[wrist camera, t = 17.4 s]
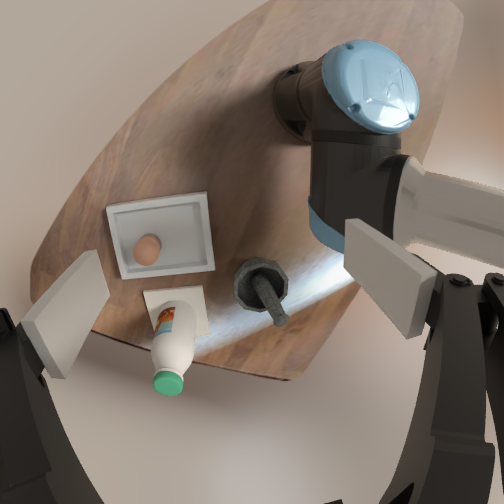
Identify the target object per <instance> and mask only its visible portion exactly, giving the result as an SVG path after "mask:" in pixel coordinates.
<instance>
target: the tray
mask: <svg viewBox="0 0 504 504" xmlns="http://www.w3.org/2000/svg"><path fill="white" fill-rule="evenodd" d="M106 211H107V216H108V221H109V226H110V231H111V236H112V240H113V245H114V249H115V253H116V257H117V261H118V265H119V269H120V273H121V277H122V280H123V279H133V278H144V277H154V276H164V275H174V274H184V273H194V272H204V271H213V270H215V261H214V253H213V244H212V236H211V227H210V218H209V209H208V199H207V191H203V192H194V193H186V194H178V195H170V196H162V197H155V198H148V199H141V200H135V201H128V202H122V203H116V204H110V205H109V206H107V207H106ZM145 234H154V235H156V236H157V237H158V238H159V239H160V241H161V244H162V247H161V251H160V253H159V256H158V259H157V261H156V262H155V263H154V264H153V265H150V266H142V265H140V264H139V263H137V262H136V260H135V259H134V256H133V250H134V247H135V246H136V244H137V243H138V241H139V240H140V238H141V237H142V236H143V235H145Z"/></svg>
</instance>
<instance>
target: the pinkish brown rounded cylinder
mask: <svg viewBox="0 0 504 504" xmlns="http://www.w3.org/2000/svg"><path fill="white" fill-rule="evenodd" d="M161 247H162V244H161V241H160V239H159V238H158V237H157V236H156V235H154V234H145V235H143V236H142V237H141V238H140V240H139V241H138V243H137V244H136V246H135V247H134V250H133V256H134V259H135V260H136V262H137V263H139V264H140V265H142V266H150V265H153V264H154V263H155V262H156V261H157V259H158V256H159V253H160V251H161Z"/></svg>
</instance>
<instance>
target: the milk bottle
mask: <svg viewBox="0 0 504 504" xmlns="http://www.w3.org/2000/svg"><path fill="white" fill-rule="evenodd" d="M195 335H196V313H195V311H194V309H193V308H192V307H191V306H190V305H189V304H187V303H186V302H183V301H178V300H174V301H170V302H168V303H166V304H164V305H163V306H162V308H161V309H160V312H159V316H158V319H157V323H156V327H155V331H154V335H153V340H152V345H151V356H152V360H153V362H154V365H155V368H156V372H155V374H154V379H153V387H154V389H155V390H156V391H157V392H158V393H160V394H162V395H166V396H175V395H178V394H179V393H181V391H182V388H183V377H182V376H183V374H184V372H185V371H186V370H187V369H188V367H189V366H190V364H191V362H192V360H193V356H194V349H195Z"/></svg>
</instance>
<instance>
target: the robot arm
mask: <svg viewBox="0 0 504 504" xmlns="http://www.w3.org/2000/svg"><path fill="white" fill-rule="evenodd" d="M273 106H274V110H275V113H276V116H277V118H278V120H279V121H280V123H281V124H282V126H283V127H284V128H285V129H286V130H287V131H288V132H289V133H291V134H292V135H294V136H295V137H297V138H299V139H301V140H304V141H308V142H311V170H310V196H309V197H308V206H309V225H310V229H311V230H312V232H313V235H314V236H315V237H316V238H317V239H318V240H319V241H320V242H321V243H323V244H324V245H325V246H327V247H329V248H331V249H333V250H335V251H337V252H340V253H342V254H344V268H345V269H346V270H347V272H348V273H349V274H350V275H351V276H352V277H353V278H354V279H355V280H356V281H357V283H358V284H359V285H360V286H361V287H362V288H363V289H364V290H365V292H366V293H367V294H368V295H369V296H370V297H371V298H372V299H373V301H374V302H375V303H376V304H377V305H378V306H379V307H380V309H381V310H382V311H383V312H384V313H385V314H386V316H387V317H388V318H389V319H390V320H391V321H392V323H393V324H394V325H395V326H396V327H397V329H398V330H399V331H400V332H401V333H402V335H403V336H404V337H405V338H406V339H410V338H413V337H416V336H419V335H421V334H422V331H423V328H424V324H425V322H426V323H427V324H428V325H429V326H430V327H431V328H430V331H429V334H428V337H427V340H426V343H425V346H424V350H426V355H425V361H424V368H423V373H422V378H421V383H420V388H419V393H418V397H417V402H416V406H415V410H414V414H413V418H412V422H411V425H410V429H409V432H408V435H407V439H406V442H405V445H404V448H403V451H402V454H401V457H400V460H399V463H398V466H397V468H396V471H395V474H394V476H393V479H392V481H391V483H390V485H389V487H388V489H387V490H386V492H385V494H384V495H383V497H382V498H381V500H380V502H379V504H487V503H488V499H489V494H490V488H491V483H492V476H493V469H494V462H495V447H494V445H493V443H486V442H485V439H484V434H485V418H486V416H485V415H486V390H487V394H488V398H489V402H490V406H491V410H492V415H493V420H494V424H495V430H496V436H497V441H498V449H499V456H500V465H501V476H502V485H503V493H504V276H503V275H502V274H499V273H488V274H486V276H485V279H484V283H483V285H474V284H473V283H472V281H471V280H470V279H469V278H467V277H465V276H463V275H459V274H447V275H444V274H443V273H442V272H440V271H439V270H438V269H436V268H435V267H433V266H432V265H430V264H429V263H428V262H426V261H424V260H423V259H422V258H421V257H419V256H418V255H416V254H413V253H410V252H409V251H407V250H406V249H405V248H406V247H407V246H409V245H411V244H413V243H419V244H423V245H427V246H430V247H434V248H437V249H441V250H445V251H447V252H451V253H454V254H458V255H461V256H464V257H467V258H471V259H474V260H477V261H480V262H483V263H487V264H490V265H493V266H496V267H499V268H502V269H504V190H501V189H497V188H494V187H490V186H487V185H483V184H479V183H475V182H471V181H467V180H463V179H459V178H455V177H450V176H446V175H441V174H436V173H431V172H428V171H426V170H424V168H423V167H422V166H421V164H420V163H419V162H418V160H417V159H416V158H415V157H414V156H409V155H402V154H401V150H400V149H401V132H402V131H403V130H405V129H406V128H407V127H409V126H410V124H411V121H412V120H414V119H415V118H416V115H417V113H418V109H419V92H418V88H417V84H416V82H415V79H414V77H413V75H412V73H411V71H410V70H409V68H408V67H407V65H405V64H403V63H402V61H401V60H400V58H399V56H398V55H397V54H395V53H394V52H393V51H391V50H390V49H388V48H387V47H385V46H383V45H381V44H379V43H376V42H373V41H368V40H353V41H349V42H347V43H345V44H342V45H338V46H336V47H333V48H332V49H331V50H329V51H328V52H327V53H326V54H325V55H323V56H322V57H321V58H319V59H318V60H317V61H307V62H302V63H299V64H296V65H294V66H292V67H291V68H289V69H288V70H287V71H286V72H284V73H283V74H282V76H281V77H280V78H279V79H278V81H277V83H276V85H275V88H274V92H273ZM109 296H110V293H109V290H108V287H107V284H106V280H105V277H104V274H103V271H102V267H101V264H100V260H99V257H98V253H97V249H96V250H89V251H85V252H84V253H82V254H81V255H80V256H79V257H78V258H77V259H76V260H75V261H74V262H73V263H72V264H71V265H70V266H69V267H68V268H67V269H66V271H65V272H64V273H63V274H62V275H61V276H60V277H59V278H58V279H57V280H56V281H55V282H54V283H53V284H52V285H51V286H50V287H49V288H48V290H47V291H46V292H45V293H44V294H43V295H42V296H41V297H40V298H39V300H38V301H37V302H36V303H35V304H34V305H33V306H32V308H31V309H30V310H29V311H28V312H27V314H26V315H25V316H24V317H23V318H22V319H21V321H20V323H19V324H18V325H17V327H15V325H14V323H13V321H12V319H11V317H10V315H9V313H8V311H7V309H6V308H0V504H104V502H103V501H102V499H101V498H100V496H99V495H98V493H97V491H96V490H95V488H94V487H93V485H92V483H91V481H90V480H89V478H88V476H87V474H86V473H85V471H84V469H83V467H82V465H81V464H80V462H79V460H78V458H77V456H76V454H75V452H74V450H73V448H72V446H71V444H70V441H69V439H68V437H67V435H66V433H65V431H64V428H63V426H62V423H61V421H60V419H59V416H58V414H57V411H56V409H55V406H54V403H53V401H52V398H51V395H50V393H49V389H48V386H47V383H46V380H45V378H44V377H43V375H42V374H41V373H42V371H43V369H44V367H45V368H46V370H47V372H48V373H49V375H50V376H51V378H57V379H66V377H67V375H68V373H69V371H70V369H71V367H72V365H73V363H74V361H75V358H76V357H77V354H78V353H79V351H80V349H81V347H82V345H83V343H84V341H85V339H86V337H87V335H88V334H89V332H90V330H91V328H92V326H93V324H94V323H95V321H96V319H97V317H98V315H99V314H100V312H101V310H102V308H103V307H104V305H105V303H106V301H107V300H108V298H109ZM498 322H499V324H498ZM497 325H498V329H497V328H496V327H497ZM10 485H11V486H10ZM325 504H343V502H342V500H341V499H340V500H336V501H333V502H329V503H325Z"/></svg>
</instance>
